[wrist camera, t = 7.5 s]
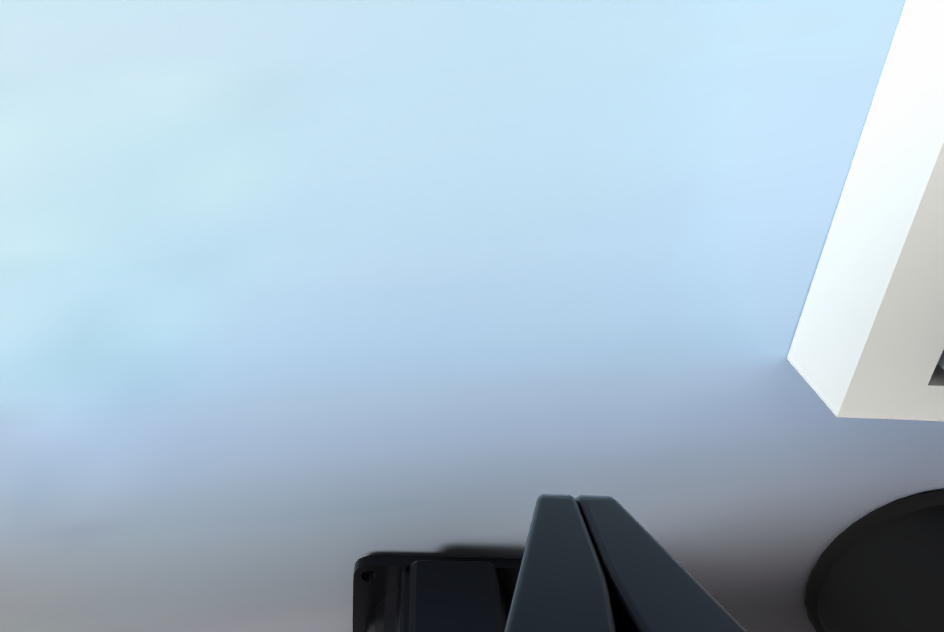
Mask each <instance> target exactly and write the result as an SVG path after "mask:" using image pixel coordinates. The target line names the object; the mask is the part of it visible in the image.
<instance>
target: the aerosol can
mask: <svg viewBox="0 0 944 632" xmlns="http://www.w3.org/2000/svg"><path fill="white" fill-rule="evenodd" d="M805 604H806V608H807V612H808V617H809V620H810V622H811V623H812V625H813V627H814V628H815V630H816V631H817V632H944V490H942V491H935V492H929V493H923V494H917V495H914V496H911V497H908V498H904V499H901V500H898V501H895V502H893V503H890V504H888V505H886V506H884V507H882V508H879V509H877V510H875V511H873V512H871V513H870V514H868V515H866V516H865V517H863V518H862V519H860V520H858V521H857V522H855V523H854V524H852V525H851V526H850V527H849V528H847V529H846V530H845V531H844V532H843V533H841V534H840V535H839V536H838V537H837V538H836V539H835V540H834V541H833V542H832V543H831V544H830V545H829V546H828V548H827V549H826V550H825V551H824V552H823V553H822V555H821V556H820V558H819V560H818V561H817V563H816V565H815V566H814V568H813V570H812V571H811V574H810V577H809V580H808V583H807V586H806V597H805Z"/></svg>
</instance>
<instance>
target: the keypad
mask: <svg viewBox="0 0 944 632" xmlns="http://www.w3.org/2000/svg"><path fill="white" fill-rule="evenodd" d="M943 350H944V0H906V2H905V5H904V8H903V11H902V14H901V17H900V20H899V23H898V26H897V29H896V32H895V35H894V38H893V41H892V44H891V47H890V50H889V53H888V56H887V59H886V62H885V65H884V68H883V71H882V74H881V77H880V80H879V83H878V86H877V89H876V92H875V95H874V98H873V101H872V104H871V107H870V110H869V113H868V116H867V119H866V122H865V125H864V128H863V131H862V134H861V137H860V140H859V143H858V146H857V149H856V152H855V155H854V158H853V161H852V164H851V167H850V170H849V173H848V176H847V179H846V182H845V185H844V188H843V191H842V194H841V197H840V200H839V203H838V206H837V209H836V212H835V215H834V218H833V221H832V224H831V227H830V230H829V233H828V236H827V239H826V242H825V245H824V248H823V251H822V254H821V257H820V260H819V263H818V266H817V269H816V272H815V275H814V278H813V281H812V284H811V287H810V290H809V293H808V296H807V299H806V302H805V305H804V308H803V311H802V314H801V317H800V320H799V323H798V326H797V329H796V332H795V335H794V338H793V342H792V345H791V348H790V351H789V354H788V357H787V359H788V360H789V362H790V363H791V364H792V365H793V366H794V367H795V369H796V370H797V371H798V372H799V373H800V374H801V376H802V377H803V378H804V379H805V380H806V381H807V383H808V384H809V385H810V386H811V387H812V388H813V390H814V391H815V392H816V393H817V394H818V395H819V397H820V398H821V399H822V400H823V401H824V402H825V404H826V405H827V406H828V407H829V408H830V409H831V411H832V412H833V413H834V414H835V415H836V416H837V417H847V418H872V419H897V420H922V421H944V369H943V368H941V367H940V366H939V365H938V364H937V363H938V361H939V358H940V356H941V354H942V352H943Z"/></svg>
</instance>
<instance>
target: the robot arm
mask: <svg viewBox="0 0 944 632" xmlns="http://www.w3.org/2000/svg"><path fill="white" fill-rule="evenodd" d="M365 571H373V572H365ZM353 632H747V631H746V630H745V629H744V628H743V627H742V626H741V625H740V624H739V623H738V622H737V621H736V620H735V619H734V618H733V617H732V616H731V615H730V614H729V613H728V612H727V611H726V610H725V609H724V608H723V607H722V606H721V605H720V604H719V603H718V602H717V601H716V600H715V599H714V598H713V597H712V596H711V595H710V594H709V593H708V592H707V591H706V590H705V589H704V588H703V587H702V586H701V585H700V584H699V583H698V582H697V581H696V580H695V579H694V578H693V577H692V576H691V575H690V574H689V573H688V572H687V571H686V570H685V569H684V568H683V567H682V566H681V565H680V564H679V563H678V562H677V561H676V560H675V559H674V558H673V557H672V556H671V555H670V554H669V553H668V552H667V551H666V550H665V549H664V548H663V547H662V546H661V545H660V544H659V543H658V542H657V541H656V540H655V539H654V538H653V537H652V536H651V535H650V534H649V533H648V532H647V531H646V530H645V529H644V528H643V527H642V526H641V525H640V524H639V523H638V522H637V521H636V520H635V519H634V518H633V517H632V516H631V515H630V514H629V513H628V512H627V511H626V510H625V509H624V508H623V507H622V506H621V505H620V504H619V503H618V502H617V501H616V500H615V499H613V498H612V497H609V496H587V495H581V496H579V497H577V498H576V499H575V498H574V497H572V496H571V495H552V494H543V495H540V496H539V497H538V499H537V502H536V506H535V510H534V514H533V518H532V522H531V526H530V530H529V534H528V538H527V542H526V546H525V550H524V554H523V558H522V559H483V558H435V557H387V556H367V557H363V558H360V559H359V560H358V561H357V562H356V564H355V568H354V580H353Z"/></svg>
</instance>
